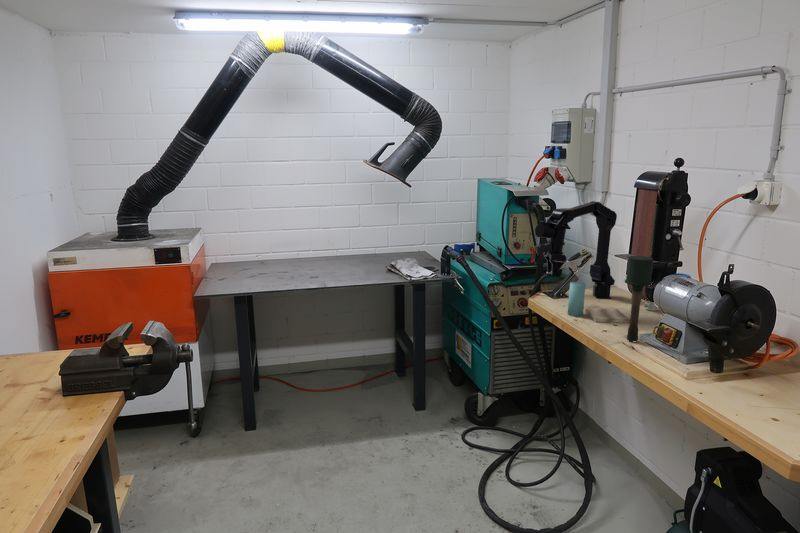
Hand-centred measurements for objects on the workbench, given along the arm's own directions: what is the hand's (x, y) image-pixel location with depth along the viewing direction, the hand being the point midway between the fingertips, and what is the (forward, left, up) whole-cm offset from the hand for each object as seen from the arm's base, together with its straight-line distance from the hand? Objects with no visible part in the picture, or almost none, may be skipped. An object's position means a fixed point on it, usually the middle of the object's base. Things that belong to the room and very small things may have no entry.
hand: (551, 274), depth 228 cm
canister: (-7, +14, -13) cm, 21 cm away
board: (-19, +17, -13) cm, 29 cm away
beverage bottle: (-41, +27, -13) cm, 51 cm away
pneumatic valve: (-41, +7, -13) cm, 44 cm away
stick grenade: (-18, +44, -13) cm, 50 cm away
